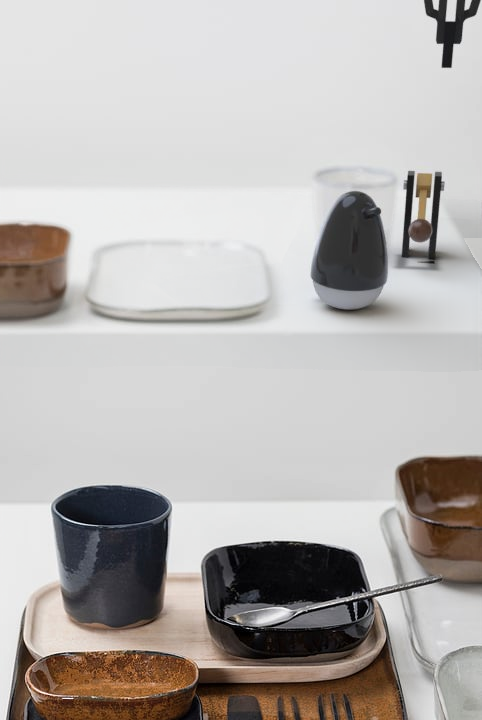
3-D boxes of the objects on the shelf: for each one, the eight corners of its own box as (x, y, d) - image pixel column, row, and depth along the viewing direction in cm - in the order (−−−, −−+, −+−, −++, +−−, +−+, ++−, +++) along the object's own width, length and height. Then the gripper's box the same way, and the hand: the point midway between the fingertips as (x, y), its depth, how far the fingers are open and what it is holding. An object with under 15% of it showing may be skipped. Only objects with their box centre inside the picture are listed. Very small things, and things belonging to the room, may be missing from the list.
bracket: (437, 270, 164) (445, 178, 159) (397, 269, 165) (403, 176, 160) (437, 259, 171) (445, 170, 166) (398, 257, 172) (405, 168, 167)
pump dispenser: (334, 321, 140) (344, 206, 133) (294, 295, 148) (301, 185, 141) (400, 310, 144) (413, 198, 137) (357, 285, 152) (367, 178, 145)
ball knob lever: (431, 247, 158) (432, 230, 155) (407, 246, 158) (408, 229, 156) (434, 188, 165) (436, 170, 163) (412, 187, 166) (413, 170, 163)
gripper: (506, -105, 158) (489, 66, 167) (415, -103, 161) (403, 65, 170) (509, -109, 151) (491, 69, 160) (414, -107, 154) (402, 68, 163)
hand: (446, 67), depth 165 cm, fingers closed
